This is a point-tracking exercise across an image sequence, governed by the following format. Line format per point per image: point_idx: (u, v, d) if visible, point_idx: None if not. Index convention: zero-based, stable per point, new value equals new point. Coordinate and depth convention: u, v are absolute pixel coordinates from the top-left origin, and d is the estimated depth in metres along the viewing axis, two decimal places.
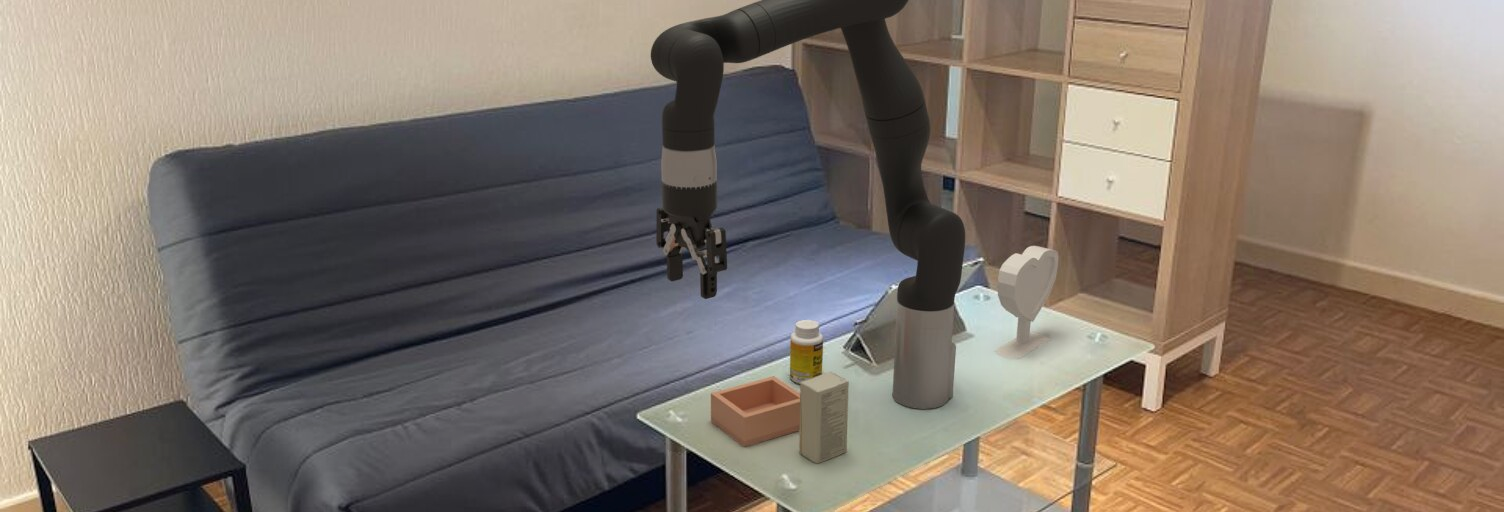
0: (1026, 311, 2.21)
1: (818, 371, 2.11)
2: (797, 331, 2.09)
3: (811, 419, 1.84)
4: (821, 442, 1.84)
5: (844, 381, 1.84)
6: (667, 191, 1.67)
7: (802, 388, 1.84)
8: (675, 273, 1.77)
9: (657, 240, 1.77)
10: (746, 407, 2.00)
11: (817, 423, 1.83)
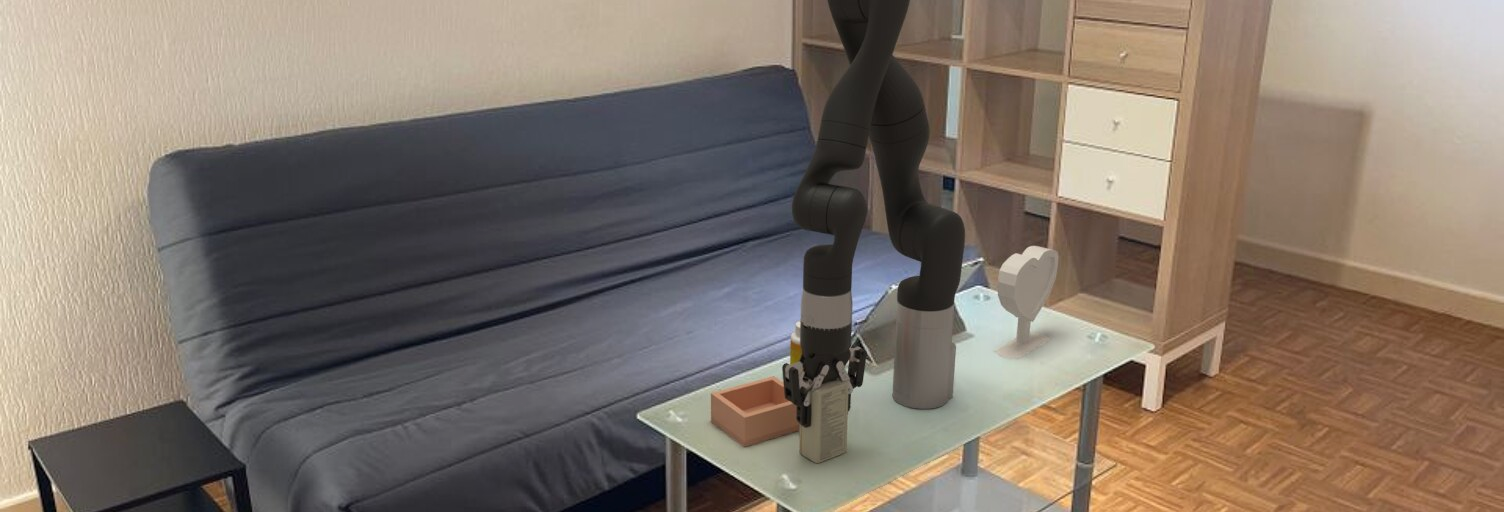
0: (1026, 311, 2.21)
1: None
2: (797, 331, 2.09)
3: (811, 419, 1.84)
4: (821, 442, 1.84)
5: None
6: (842, 333, 1.78)
7: None
8: None
9: (795, 399, 1.81)
10: (746, 407, 2.00)
11: (817, 423, 1.83)
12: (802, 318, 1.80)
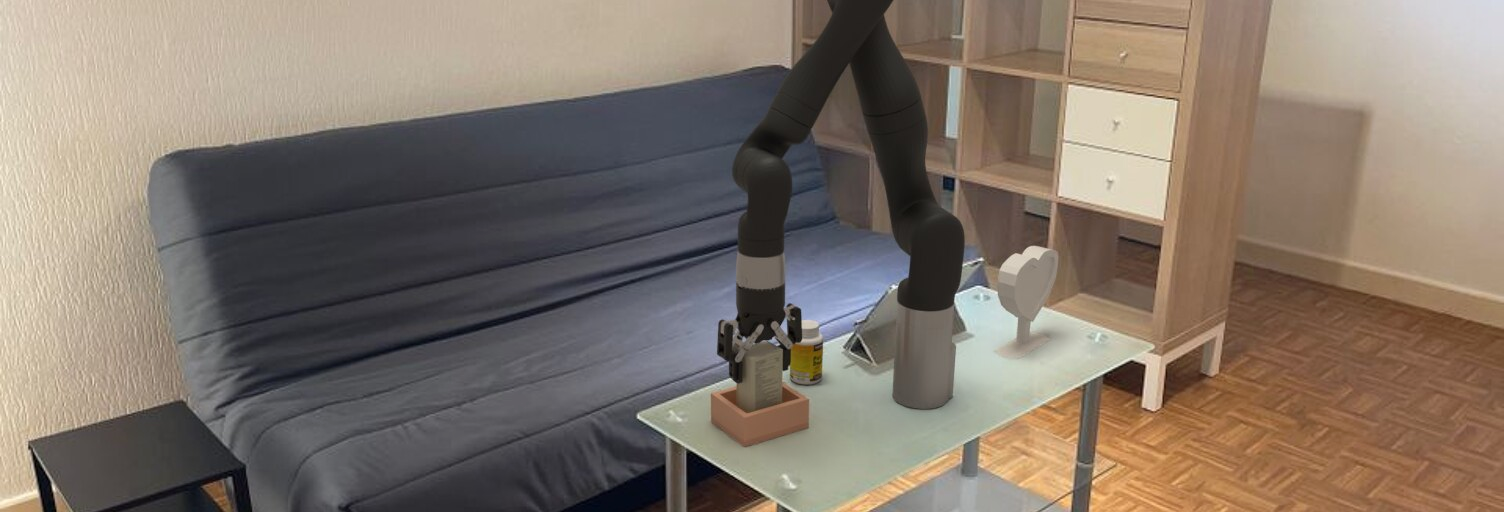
0: (1026, 311, 2.21)
1: (818, 371, 2.11)
2: None
3: (746, 385, 1.92)
4: (755, 407, 1.93)
5: (778, 349, 1.93)
6: (775, 293, 1.86)
7: None
8: None
9: (726, 355, 1.88)
10: None
11: (751, 389, 1.91)
12: (737, 279, 1.88)
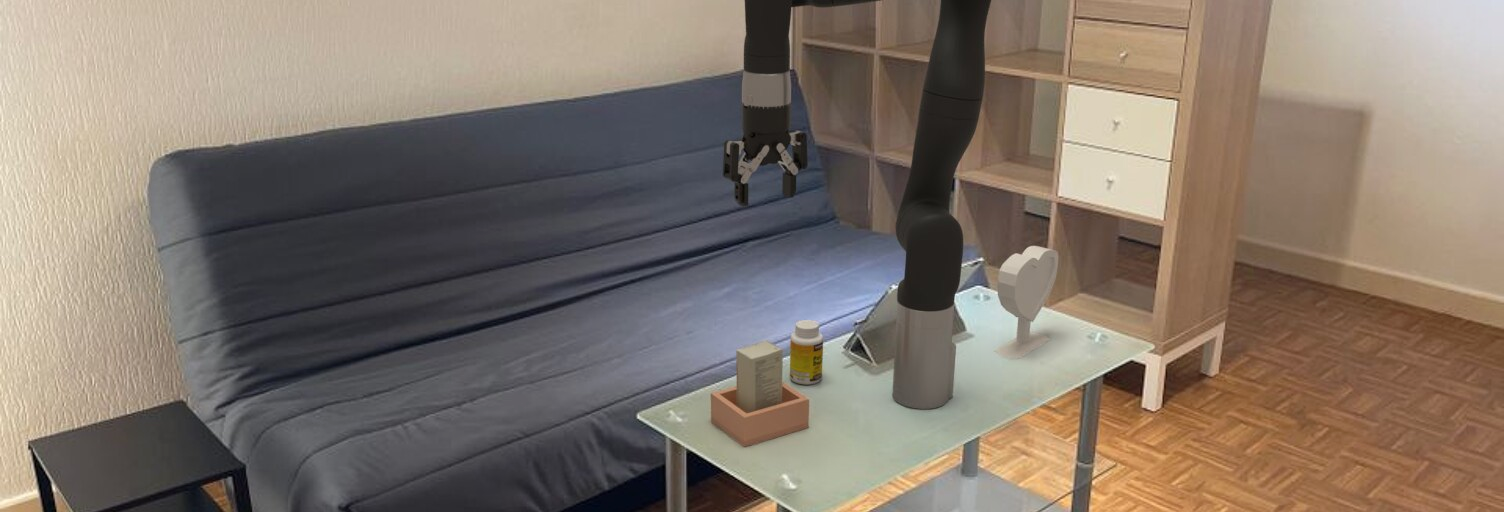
0: (1026, 311, 2.21)
1: (818, 371, 2.11)
2: (797, 331, 2.09)
3: (746, 385, 1.92)
4: (755, 407, 1.93)
5: (778, 349, 1.93)
6: (781, 112, 1.87)
7: (738, 355, 1.92)
8: None
9: (732, 175, 1.89)
10: None
11: (751, 389, 1.91)
12: (743, 99, 1.88)
